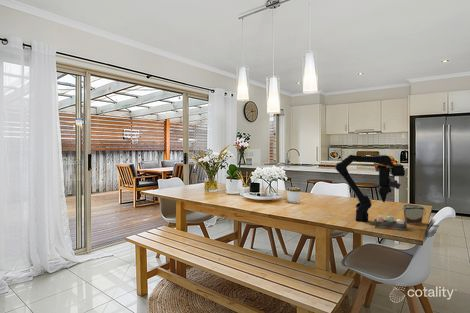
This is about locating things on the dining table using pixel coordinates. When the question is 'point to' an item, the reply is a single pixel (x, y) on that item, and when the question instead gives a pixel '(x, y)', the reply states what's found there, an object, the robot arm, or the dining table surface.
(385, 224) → the button panel
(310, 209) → the dining table surface
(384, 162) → the robot arm
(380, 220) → the button terracotta
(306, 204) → the dining table surface
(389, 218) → the button sage
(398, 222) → the button cream
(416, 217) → the food container
